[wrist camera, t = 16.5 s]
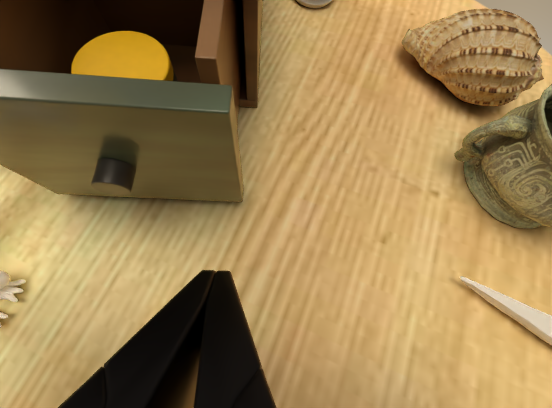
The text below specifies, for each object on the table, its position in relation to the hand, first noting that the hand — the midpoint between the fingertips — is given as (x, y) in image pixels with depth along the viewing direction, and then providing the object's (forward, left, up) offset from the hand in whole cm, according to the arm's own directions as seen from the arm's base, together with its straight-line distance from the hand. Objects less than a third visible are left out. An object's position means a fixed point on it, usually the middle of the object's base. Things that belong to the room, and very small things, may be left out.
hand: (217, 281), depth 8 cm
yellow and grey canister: (+10, +6, -7) cm, 13 cm away
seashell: (+18, -17, -9) cm, 27 cm away
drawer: (+11, +6, -8) cm, 15 cm away
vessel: (+8, -20, -9) cm, 24 cm away
